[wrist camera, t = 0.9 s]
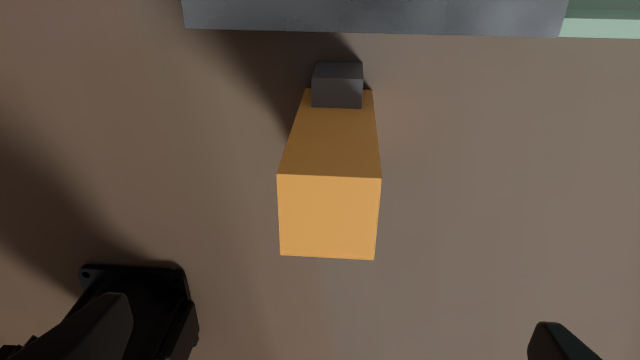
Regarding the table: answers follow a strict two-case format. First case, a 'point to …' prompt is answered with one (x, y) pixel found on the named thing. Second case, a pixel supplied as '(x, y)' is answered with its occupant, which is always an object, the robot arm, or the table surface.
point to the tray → (602, 19)
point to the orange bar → (331, 169)
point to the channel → (382, 16)
